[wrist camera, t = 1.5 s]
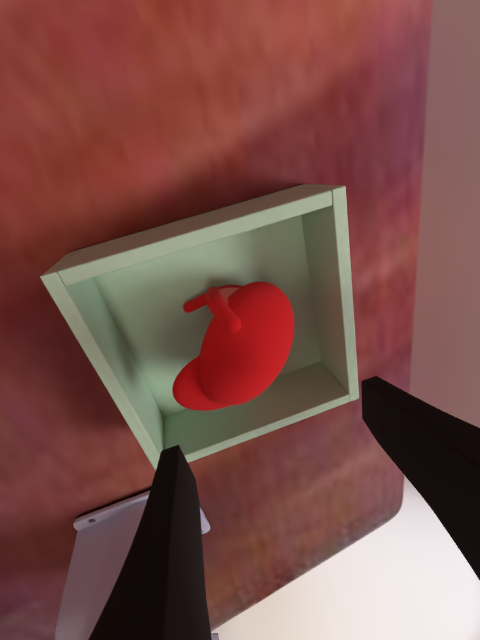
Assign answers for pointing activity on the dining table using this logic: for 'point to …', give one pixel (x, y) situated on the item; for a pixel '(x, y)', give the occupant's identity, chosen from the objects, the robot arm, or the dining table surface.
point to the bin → (189, 328)
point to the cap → (237, 346)
